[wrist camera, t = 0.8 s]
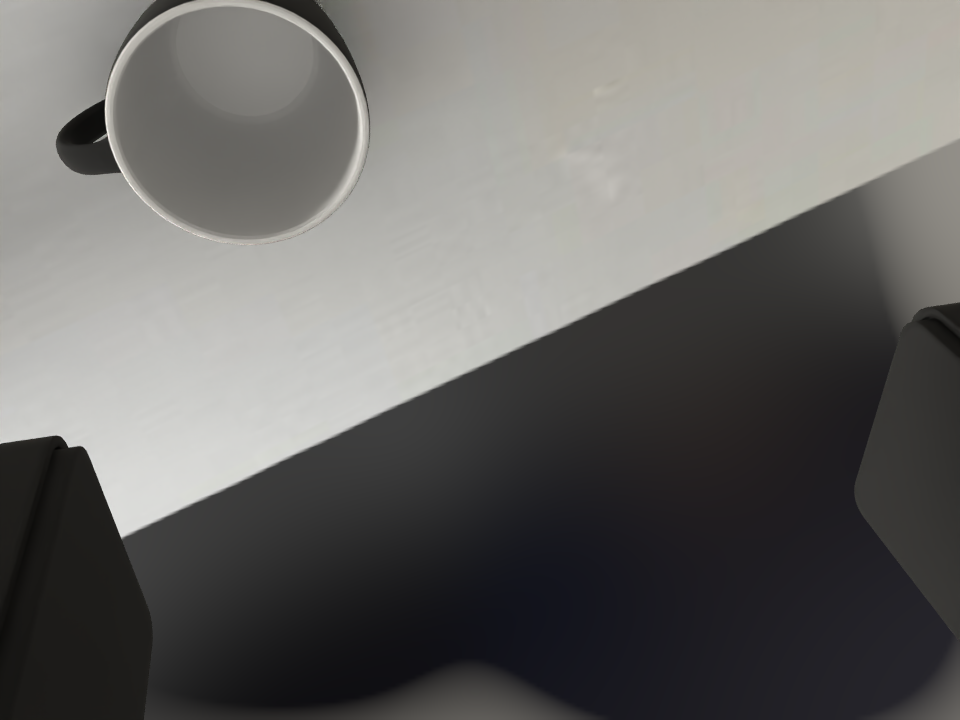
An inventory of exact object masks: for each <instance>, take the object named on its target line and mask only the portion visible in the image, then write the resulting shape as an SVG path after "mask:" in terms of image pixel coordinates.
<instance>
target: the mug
mask: <svg viewBox="0 0 960 720" xmlns="http://www.w3.org/2000/svg"><path fill="white" fill-rule="evenodd" d="M106 133H107V137H106V138H105V139H103V140H101V141H98V142H95V141H96V140H97V139H99V138H100V137H102V136H103V135H105V134H106ZM369 139H370V118H369V109H368V104H367V98H366V94H365V90H364V87H363V83H362V80H361V77H360V75H359V72H358V70H357V67H356V65H355V62H354V60H353V58H352V56H351V54H350V52H349V50H348V48H347V46H346V44H345V42H344V40H343V39H342V37H341V35H340V34H339V32H338V31H337V29H336V28H335V26H334V24H333V23H332V21H331V20H330V19H329V17H328V16H327V15H326V14H325V12H324V11H323V10H322V9H321V8H320V6H319V5H318V4H317V3H316V2H315V1H314V0H155V1H154V2H153V3H152V4H151V6H150V7H149V8H148V9H147V10H146V11H145V12H144V13H143V14H142V16H141V17H140V18H139V20H138V21H137V22H136V24H135V25H134V27H133V28H132V29H131V31H130V32H129V34H128V35H127V37H126V39H125V41H124V42H123V44H122V46H121V48H120V50H119V52H118V54H117V56H116V59H115V61H114V63H113V66H112V69H111V72H110V76H109V79H108V83H107V89H106V94H105V99H104V100H102V101H101V102H99V103H97V104H95V105H93V106H92V107H90V108H88V109H86V110H85V111H83V112H82V113H80V114H79V115H77V116H76V117H75V118H73V119H72V120H71V121H70V122H68V123H67V124H66V125H65V126H64V127H63V128H62V129H61V131H60V132H59V134H58V136H57V140H56V148H57V152H58V154H59V156H60V159H61V160H62V161H63V162H64V164H65V165H66V166H67V167H69V168H70V169H71V170H73V171H75V172H77V173H80V174H85V175H98V174H109V173H122V174H123V175H124V177H125V179H126V180H127V182H128V183H129V184H130V186H131V187H132V188H133V190H134V191H135V192H136V193H137V195H138V196H139V197H140V198H141V199H142V200H143V201H144V202H145V203H146V204H147V205H148V206H149V207H150V208H151V209H153V210H154V211H155V212H156V213H158V214H159V215H160V216H161V217H163V218H164V219H166V220H167V221H169V222H170V223H172V224H174V225H175V226H177V227H179V228H181V229H183V230H185V231H187V232H190V233H192V234H194V235H197V236H200V237H203V238H206V239H209V240H213V241H217V242H222V243H229V244H239V245H258V244H267V243H273V242H278V241H282V240H285V239H289V238H292V237H294V236H297V235H300V234H302V233H304V232H306V231H308V230H310V229H312V228H314V227H315V226H317V225H318V224H320V223H321V222H323V221H324V220H325V219H327V218H328V217H329V216H331V215H332V214H333V213H334V212H335V211H336V210H337V209H338V208H339V207H340V206H341V205H342V204H343V202H344V201H345V200H346V199H347V197H348V196H349V195H350V193H351V192H352V190H353V188H354V187H355V185H356V183H357V182H358V179H359V177H360V175H361V173H362V170H363V167H364V164H365V161H366V157H367V152H368V148H369ZM93 142H95V143H93Z"/></svg>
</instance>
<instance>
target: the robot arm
mask: <svg viewBox="0 0 960 720" xmlns="http://www.w3.org/2000/svg"><path fill="white" fill-rule="evenodd" d="M854 492H855V499H856V503H857V506H858V508H859V510H860V512H861V514H862V515H863V517H864V518H865V519H866V521H868V523H869V524H870V526H871V527H872V528H873V530H874V531H875V532H876V534H877V535H878V536H879V537H880V539H881V540H882V541H883V543H884V544H885V545H886V546H887V548H888V549H889V550H890V552H891V553H892V554H893V556H894V557H895V558H896V560H897V561H898V562H899V563H900V565H901V566H902V567H903V569H904V570H905V571H906V573H907V574H908V575H909V576H910V578H911V579H912V580H913V582H914V583H915V584H916V586H917V587H918V588H919V589H920V591H921V592H922V593H923V595H924V596H925V597H926V599H927V600H928V601H929V602H930V604H931V605H932V606H933V608H934V609H935V610H936V611H937V613H938V614H939V616H940V617H941V618H942V619H943V621H944V622H945V623H946V625H947V626H948V627H949V628H950V630H951V631H952V632H953V634H954V635H955V636H956V638H957V639H958V640H959V642H960V303H954V304H947V305H940V306H933V307H927V308H924V309H921V310H919V311H918V312H917V313H916V315H914V317H913V320H912V322H910V323H908V324H907V325H906V326H905V327H904V328H903V330H902V332H901V334H900V337H899V341H898V344H897V348H896V351H895V354H894V357H893V360H892V364H891V367H890V371H889V374H888V377H887V380H886V384H885V387H884V390H883V393H882V397H881V400H880V403H879V407H878V410H877V413H876V416H875V420H874V423H873V427H872V430H871V433H870V436H869V440H868V443H867V446H866V450H865V453H864V456H863V460H862V463H861V466H860V469H859V473H858V476H857V479H856V483H855V489H854ZM152 634H153V633H152V621H151V616H150V612H149V609H148V606H147V604H146V601H145V598H144V596H143V593H142V591H141V588H140V586H139V583H138V581H137V578H136V576H135V573H134V570H133V568H132V565H131V563H130V560H129V558H128V555H127V552H126V550H125V547H124V545H123V542H122V540H121V537H120V534H119V532H118V529H117V527H116V524H115V522H114V519H113V517H112V514H111V511H110V509H109V506H108V504H107V501H106V499H105V496H104V494H103V491H102V488H101V486H100V483H99V481H98V478H97V476H96V473H95V471H94V468H93V465H92V463H91V460H90V458H89V455H88V453H87V451H86V450H85V449H84V448H83V447H81V446H77V447H70V448H68V446H67V444H66V442H65V441H64V440H63V438H62V437H60V436H49V437H43V438H36V439H29V440H22V441H15V442H9V443H2V444H0V720H144V712H145V704H146V695H147V686H148V678H149V669H150V661H151V651H152V641H153V635H152Z"/></svg>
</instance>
